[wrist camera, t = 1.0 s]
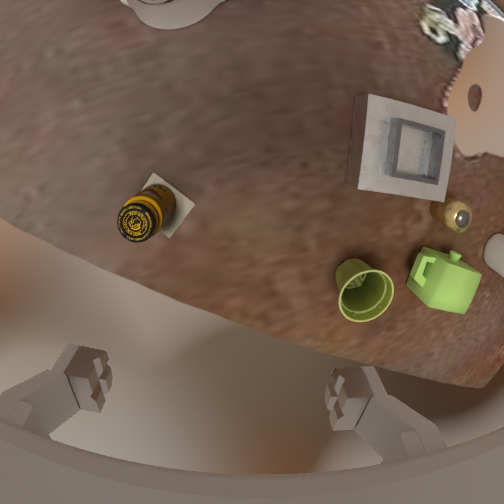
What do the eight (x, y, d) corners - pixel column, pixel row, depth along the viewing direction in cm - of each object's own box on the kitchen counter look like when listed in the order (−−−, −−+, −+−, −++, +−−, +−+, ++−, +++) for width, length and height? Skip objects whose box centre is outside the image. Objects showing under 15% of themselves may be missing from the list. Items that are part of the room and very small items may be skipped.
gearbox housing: (354, 96, 43) (375, 92, 35) (436, 117, 44) (465, 119, 36) (345, 181, 48) (363, 192, 40) (426, 193, 49) (452, 206, 41)
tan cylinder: (432, 192, 49) (456, 202, 42) (452, 196, 49) (476, 206, 42) (427, 218, 51) (449, 232, 44) (447, 221, 51) (469, 234, 44)
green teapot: (472, 254, 55) (499, 272, 46) (454, 295, 58) (478, 317, 49) (412, 233, 52) (440, 250, 43) (393, 281, 55) (417, 305, 46)
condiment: (153, 172, 47) (127, 187, 36) (195, 203, 49) (181, 227, 38) (129, 207, 49) (100, 231, 38) (170, 237, 51) (151, 269, 40)
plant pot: (329, 247, 53) (344, 270, 45) (379, 249, 53) (399, 270, 45) (322, 295, 56) (334, 323, 48) (369, 295, 57) (386, 320, 49)
